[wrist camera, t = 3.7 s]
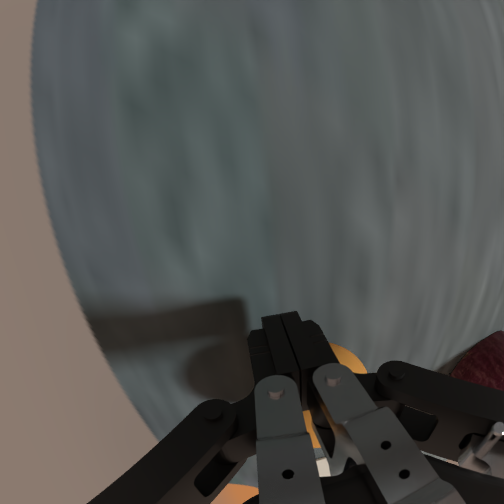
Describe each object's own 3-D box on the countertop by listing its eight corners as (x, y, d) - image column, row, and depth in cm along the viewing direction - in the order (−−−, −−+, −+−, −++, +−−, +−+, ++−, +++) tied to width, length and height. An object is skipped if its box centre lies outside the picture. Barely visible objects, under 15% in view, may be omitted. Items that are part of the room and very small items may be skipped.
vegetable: (416, 361, 21) (484, 484, 7) (498, 303, 19) (595, 377, 4) (433, 420, 22) (475, 518, 8) (503, 372, 20) (565, 447, 5)
